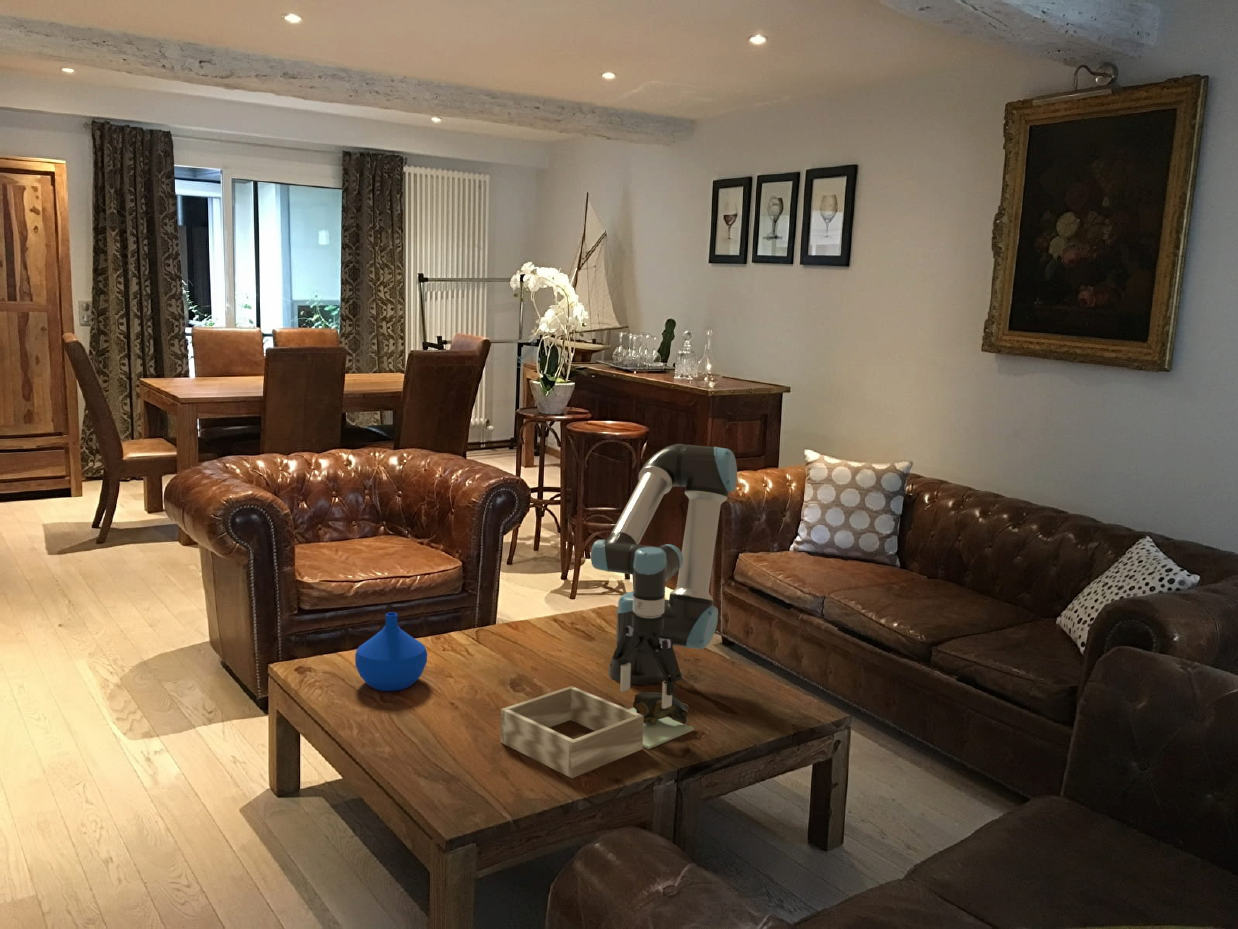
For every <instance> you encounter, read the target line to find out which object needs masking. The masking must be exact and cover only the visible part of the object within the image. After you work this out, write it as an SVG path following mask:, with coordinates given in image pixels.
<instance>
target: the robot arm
mask: <svg viewBox="0 0 1238 929" xmlns="http://www.w3.org/2000/svg"><path fill="white" fill-rule="evenodd" d="M737 484H738V466H737V461H736V457H735V454H734V452H733V451H732V450H731V449H729V448H724V447H718V446H707V445H694V444H684V443H676V444H675V443H674V444H672V445H668V446H666V447H664V448H662V449H661V450H658V451H657V452H656V453H654V454H653V455H652V456H651V457H650V458H649V459H648V460H647V461H646V462H645V463H644V464H643V466H642V468H641V469H640V471H639V473H638V483H637V484H636V486H635V488H634V490H633V491H632V494H631V496H630V497H629V500H628V502H627V503H626V504H625V506H624V509H623V511H622V513H621V515H620V516H619V518H618V519H617V521H616V524H615V526H614V528H613V529H612V530H611V533H610V535H609V536H608V538H607V539H597V540H596V541H594V542H593V544H592V546H591V550H590V562H591V565H592V567H593V568H594V569H596V570H600V571H603V572H608V573H619V574H626V575H633V585H632V586H633V588H632V589H633V591H628V592H626V593H624V594H622V595H620V597H619V599H618V602H617V610H616V613H617V614H616V617H617V618H616V643H615V644H616V647H615V649H614V652H613V655H612V659H611V662H610V663H609V666H608V676H609V677H610V679H612V680H614V681H615V682H617V683H620V684H619V685H620V686H619V691H620V692H621V693H622V692H623V693H624V692H625V691H628V690H630V689H631V685H632V686H647V685H653V684H657V683H660V682H661V681H662V686H661V687H662V690H661V693H662V708H663V709H665V708H668V707H670V706H672V696H673V695H675V694H674V693H675V684H676V683H677V682H679V681H681V680H683V676H682V673H681V670H680V667H679V662H678V660H677V657H676V654H675V650H674V646H677V647H681V648H687V649H697V650H703V649H704V648H707V647H708V646H709V645H710V644H711V642H712V640H713V638H714V635H715V633H716V629H717V626H718V621H719V617H718V615H719V610H718V608H717V606H715V605H713V604H714V599H713V597H712V595H711V594H710V592H709V589H710V585H711V584H710V583H711V576H712V570H713V562H714V557H715V556H714V555H715V548H716V541H717V535H718V527H719V526H718V525H719V519H720V512H721V505H722V504H723V503H724V502H726V501H727V500H728V495H729V493H733V492H734V491H735V490H736V488H737V487H736V486H737ZM673 487H681V488H685V489H684V495H685V496H686V497H687V498H688V506H687V507H688V508H687V513H686V520H685V521H686V522H685V528H684V534H683V539H682V540H683V541H682V548H681V549H680V548H678V547H677V546H676V545H673V544H671V543H669V544H668V543H667V544H663V545H660V546H654V545H653V546H652V545H643V544H640V543H641V541H642V538H643V536H644V534H645V532H646V530H647V528H648V527H649V524H650V523H651V521H652V519H653V517H654V515H655V513H656V511H657V509H658V507H659V505H660V503H661V500H662V499H663V498H664V495H666V494H668V493H669V492H670V491H671V489H672V488H673ZM676 574H678V576H677V583H676V587H675V589H673V590H672V591H671V592H669V598H668V599H666V582H667V581H668V580H670V579H671V578H672V577H674V576H675V575H676Z"/></svg>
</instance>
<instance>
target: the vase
mask: <svg viewBox="0 0 1238 929" xmlns="http://www.w3.org/2000/svg"><path fill="white" fill-rule="evenodd" d="M354 657H355V658H354V659H355V667H356V670H357V672H358V674H359V676H360V677H361V679H362V680H363V681H364V682H365V683H366V684H367V685H368V686H369V687H370V688H372V689H374V690H376V691H380V692H398V691H403V690H405V688H406V689H408V688H409V687H411V686H412V685H414V683H416V682H417V681H418V679H419V678H420V677H421V676H422V674H423V672H424V669H425V668H426V666H427V662H428V651H427V649H426V645H425V644H423V643H422V642H421V641H419V640H418V639H416V638H415V637H413V636H411V635H410V634H408V633H407V632H406V631H404V630H403V629H402V628H400V626H399V625H398V613H397V612H394V611H393V612H387V613H385V625H384V627H382V629H381V630H379V631H378V632H377V633H376V634H374V635H373V636H372V637H371V638H369V639H368V640H366V641H365V642H364V643H362V644H361V645H359V646H358V648H357V649H356V651H355V655H354Z"/></svg>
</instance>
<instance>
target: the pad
mask: <svg viewBox="0 0 1238 929" xmlns="http://www.w3.org/2000/svg"><path fill="white" fill-rule="evenodd" d="M629 710H631V711H633V712H636V711H637V710H636V709H635V708H634V707H631V708H629ZM694 728H695V727H694V726H690V725H688V724H687V723H686V724H682V723H680V722H677V721H675V720H673V719H671V718H670V717H665V718H662V719H658V721H657V723H656V724H650V723H649V722H645V723H643V747H642V748H645V749H648V750H650V749H652V748H654V747H657V746H659V745H662V744H664V743H667V742H669V741H671V740H673V739H676V738H678V737H681V736H682V735H685V734H688V733H690V732H692V731H695V730H694Z"/></svg>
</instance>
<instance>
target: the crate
mask: <svg viewBox="0 0 1238 929" xmlns="http://www.w3.org/2000/svg"><path fill="white" fill-rule="evenodd" d="M629 709H630V708H629ZM629 709H628V708H626V707H623V706H621V705H619V704H616V703H614V702H612V701H609V700H607V699H605V698H602V697H600V696H598V695H595V694H591V693H589V692H588V691H585V690H583V689H580V688H578V687H575V686H573V685H571V686H567V687H564V688H560V689H558V690H555V691H551V692H548V693H546V694H543V695H540V696H537V697H535V698H531V699H528V700H525V701H522V702H519V703H516V704H513V705H510V706H507V707H503V708H501V709H500V743H501V744H504V745H505V746H507V747H509V748H511V749H513V750H516V751H517V752H519V753H521V754H523V755H525V756H527V757H529V758H530V759H533V760H534V761H537V762H538V763H541V764H542V765H545V766H547V767H549V768H551V769H553V770H554V771H557V772H558V773H561V774H563V775H565V776H566V777H569V778H571V779H574V778H576V777H579V776H582V775H584V774H586V773H588V772H591V771H593V770H596V769H598V768H601V767H602V766H605V765H607V764H609V763H612V762H614V761H617V760H619V759H622V758H623V757H624V758H625V757H627V756H629V755H631V754H633V753H636V752H639V751H641V750H643V748H644V747H643V723H644V716H643V715H641V714H638V713H636V712H633V711H631V710H629ZM569 721H572V722H574V723H577V724H579V725H581V726H583V727H585V728H587V729H590V730H592V731H591V732H590V733H587V734H584V735H582V736H579V737H577V738H574V739H573V738H571V737H569V736H567V735H565V734H562V733H560V732H559V731H556V730H553V729H552V727H554V726H557V725H560V724H563V723H566V722H569Z"/></svg>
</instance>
